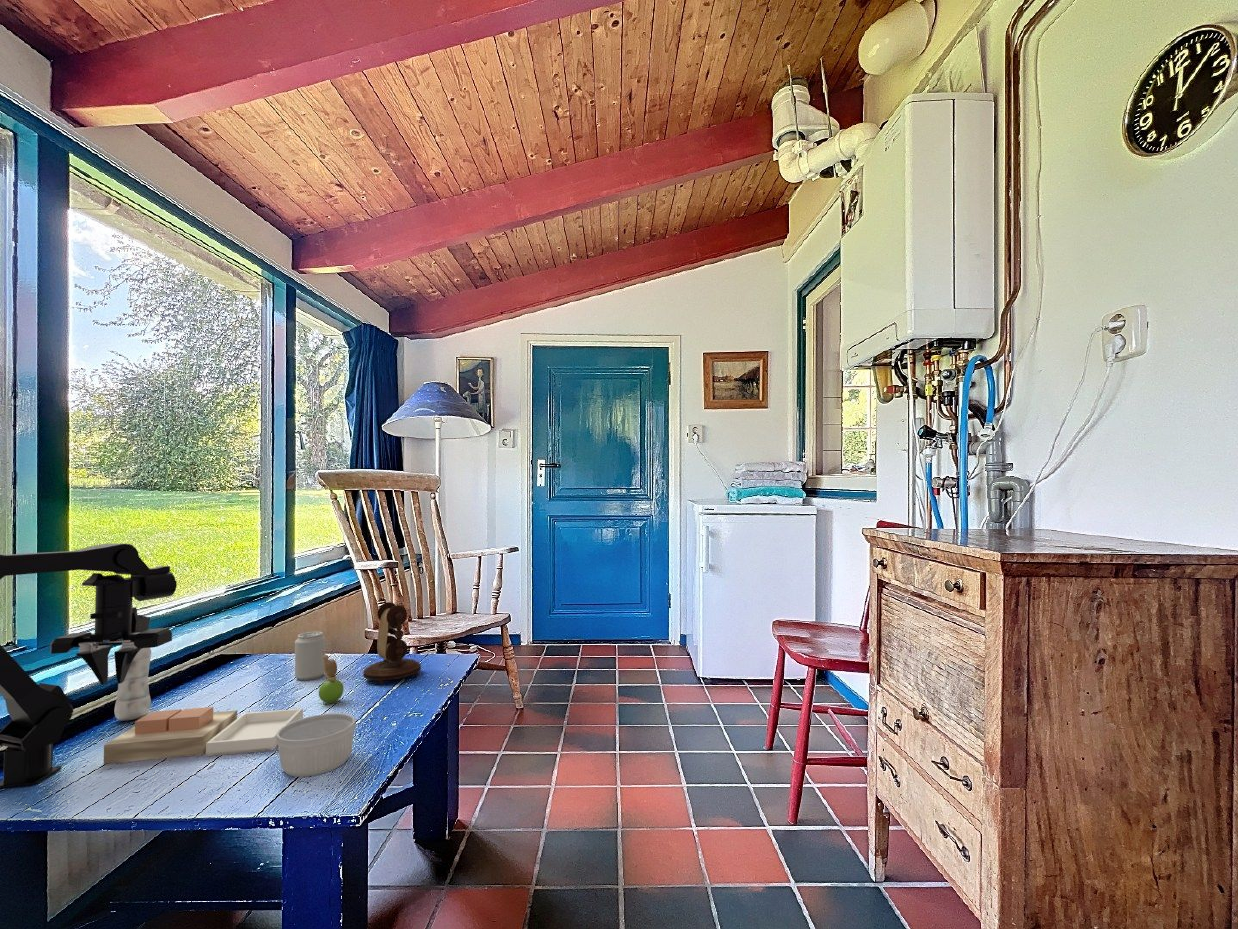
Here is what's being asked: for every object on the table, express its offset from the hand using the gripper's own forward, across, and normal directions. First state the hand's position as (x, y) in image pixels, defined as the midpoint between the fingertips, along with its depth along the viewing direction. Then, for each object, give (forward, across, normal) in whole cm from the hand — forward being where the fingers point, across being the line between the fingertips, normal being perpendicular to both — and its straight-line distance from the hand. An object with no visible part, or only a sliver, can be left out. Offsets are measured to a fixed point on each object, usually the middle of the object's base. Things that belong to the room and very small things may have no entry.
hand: (112, 683), depth 118 cm
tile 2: (+10, -14, 0) cm, 17 cm away
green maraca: (+13, -36, -19) cm, 42 cm away
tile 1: (+10, -8, 0) cm, 13 cm away
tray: (+13, -27, 0) cm, 30 cm away
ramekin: (+13, -44, +16) cm, 48 cm away
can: (+13, -24, -42) cm, 50 cm away
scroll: (+13, -46, -36) cm, 60 cm away
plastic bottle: (+13, +6, -18) cm, 23 cm away
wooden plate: (+13, -12, 0) cm, 17 cm away
